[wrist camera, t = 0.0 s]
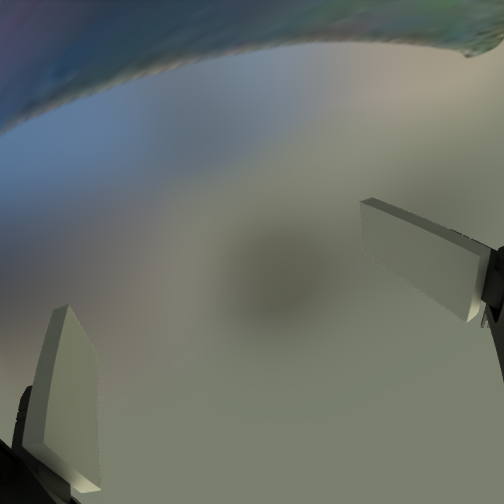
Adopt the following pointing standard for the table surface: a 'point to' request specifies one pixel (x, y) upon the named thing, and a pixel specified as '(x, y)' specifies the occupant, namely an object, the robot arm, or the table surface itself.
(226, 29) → the table surface
